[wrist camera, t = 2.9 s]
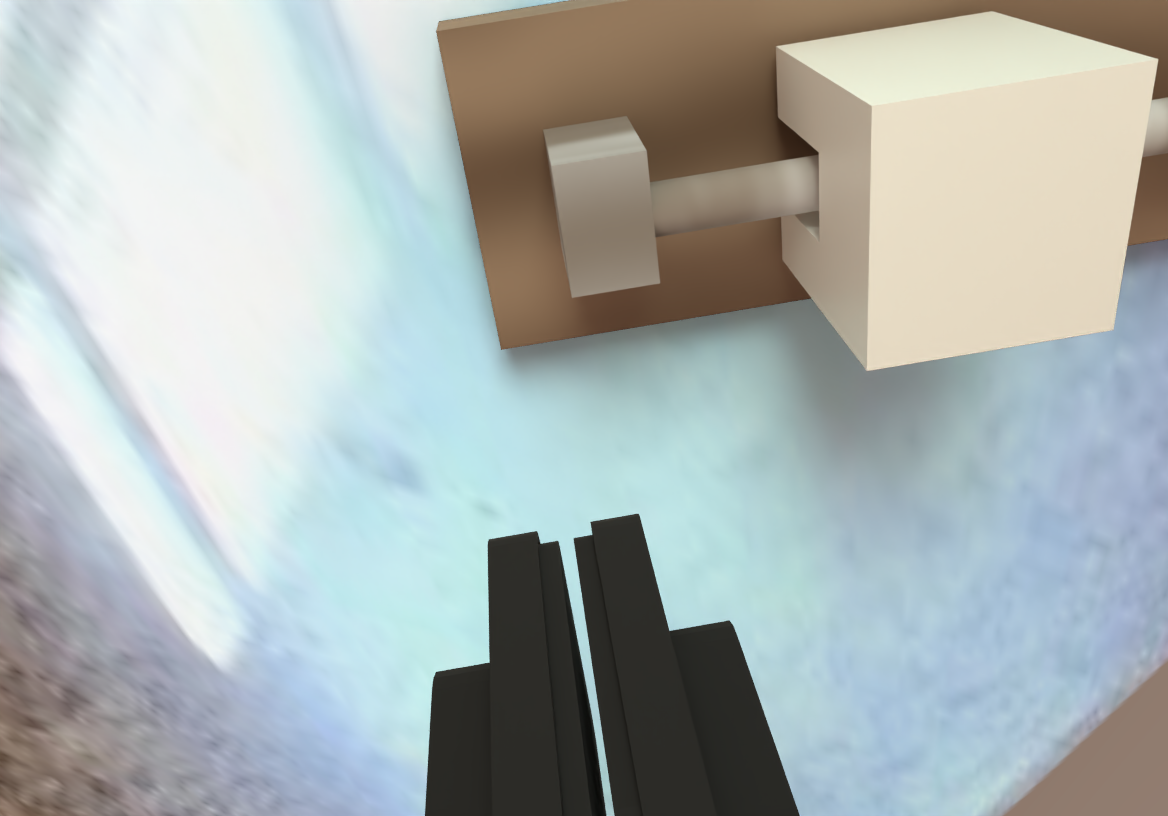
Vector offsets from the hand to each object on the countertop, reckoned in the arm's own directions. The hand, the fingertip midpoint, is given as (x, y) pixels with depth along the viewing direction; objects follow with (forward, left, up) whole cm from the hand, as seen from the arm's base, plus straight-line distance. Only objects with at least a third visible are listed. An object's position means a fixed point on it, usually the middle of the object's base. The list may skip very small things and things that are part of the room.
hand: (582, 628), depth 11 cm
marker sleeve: (0, +9, -14) cm, 17 cm away
